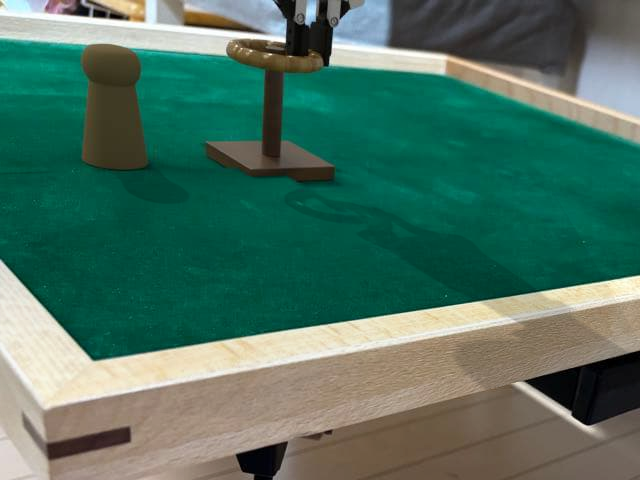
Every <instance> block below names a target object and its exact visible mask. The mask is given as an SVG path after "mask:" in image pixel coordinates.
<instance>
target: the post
mask: <svg viewBox="0 0 640 480" xmlns="http://www.w3.org/2000/svg"><path fill="white" fill-rule="evenodd" d="M285 51H286V50H285V49H284V48H281V47H276V46H266V47H265V53H271V54H278V55H284V56H285ZM263 70H264V69H263ZM284 89H285V73H284V72H277V71H270V70H264V75H263V97H262V98H263V99H262V100H263V101H262V103H263V104H262V126H261V127H262V128H261V140H238V141H237V140H235V141H233V140H232V141H231V140H230V141H228V140H227V141H221V140H219V141H205V156H206V157H208V158H210V159H211V160H213V161H214V162H216V163H218V164H220V165H221V166H222V167H224V168H226V169H233V168H234V169H238V170H239V171H242V172H243V173H245V174H246V175H247V176H249V177H270V176H271V177H272V176H273V177H274V176H287V177H289V178H291V179H292V180H294V181H295V182H309V181H310V182H311V181H331V180H333V181H334V180H335V177H336V176H335V174H336V166H335V165H333V164H332V163H329V162H328V161H326V160H324V159H323V158H321V157H318V156H317V155H315V154H313V153H311V152H309V151H308V150H306V149H304V148H302V147H300V146H298V145H297V144H295V143H293V142H291V141H289V140H282V134H283V133H282V131H283V112H284V111H283V110H284V91H285V90H284Z"/></svg>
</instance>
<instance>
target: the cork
mask: <svg viewBox="0 0 640 480" xmlns="http://www.w3.org/2000/svg"><path fill="white" fill-rule="evenodd" d="M80 65H81V69H82V72H83V74H84V75H85V76H86V78H87V79H88V84H87V95H86V105H85V119H84V127H83V140H82V149H81V150H82V151H81V160H82V162H83V163H86V164H87V165H90V166H92V167H93V166H94V167H97V168H101V169H108V170H118V171H120V170H121V171H129V170H130V171H131V170H139V169H144V168H146V167H147V166H148V165H149V160H148V154H147V153H148V152H147V148H146V147H147V146H146V141H145V135H144V130H143V123H142V116H141V110H140V104H139V98H138V92H137V87H136V85H137V83H138V82H139V80H140V78H141V74H142V63H141V60H140V57H139V56H138V54H137V53H136V52H135V51H134V50H132V49H130V48H128V47H124V46H122V45H118V44H114V43H91V44H89V45H87V46H85V48H84V49H83V50H82V53H81V57H80Z"/></svg>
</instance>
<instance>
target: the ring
mask: <svg viewBox="0 0 640 480" xmlns="http://www.w3.org/2000/svg"><path fill="white" fill-rule="evenodd" d="M285 43H286V42H283V41H277V40H270V39H263V38H235V39H231V40H229V41H228V43H227V45H226V47H225V54H226V56H227V57H228V59H231V60H233V61H235V62H237V63H239V64H241V65H244V66H247V67H251V68H255V69H260V70H270V71H277V72H284V74H304V75H305V74H312V73H318V72H320V71H322V70H323V68H324V67H323V58H322V56H321V55H320V54H319V53H317V52H315V51H313V50H310V49H309V54H308V56H306V57H299V56H287V52H286V51H285V56H284V55H278V54H271V53H265V47H266V46H276V47H281V48H284V49H285ZM285 50H286V49H285Z"/></svg>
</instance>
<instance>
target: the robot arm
mask: <svg viewBox="0 0 640 480" xmlns="http://www.w3.org/2000/svg"><path fill="white" fill-rule="evenodd" d="M271 1H273V3H274V4H275V5H276V7H277V8H278V10H279V12H281V16H282V18H283V19H285V20H286V26H285V27H286V28H285V42H284V43H285V49H286V52H287V56H299V57H306V56H308V54H309V49H310V50H313V51H315V52H317V53H319V54H320V55H321V56H322V58H323V68H324V67H325V68H328V67H329V66H330V60H331V56H332V53H333V40H334V29H335V28H337V27H338V26H339V24H340V21H341V20H342V18H343V17H344V16H345V15H346V14H347V13H348V12H349V11H352V10H354V9H358V8H360V7H362V6H364V5H365V2H366V0H316V4H315V21H313V20H312V21H311V22H310V25H308V24H306V20H307V7H308V6H307V5H308V0H271Z"/></svg>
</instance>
